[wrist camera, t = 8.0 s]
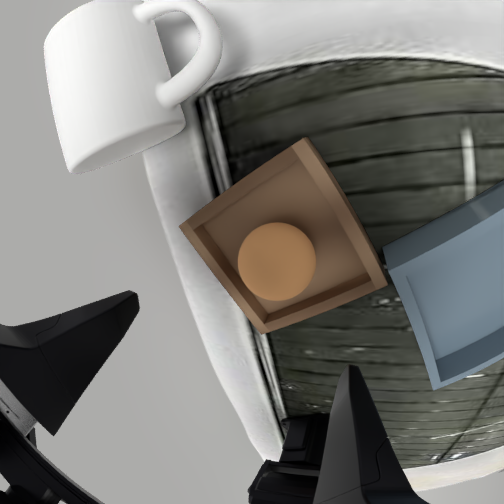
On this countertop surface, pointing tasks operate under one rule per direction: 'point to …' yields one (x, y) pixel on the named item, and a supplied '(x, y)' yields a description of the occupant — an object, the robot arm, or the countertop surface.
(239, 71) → the countertop surface
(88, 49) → the mug
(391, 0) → the countertop surface
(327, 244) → the tray
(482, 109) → the countertop surface
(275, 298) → the ball
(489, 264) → the dish
